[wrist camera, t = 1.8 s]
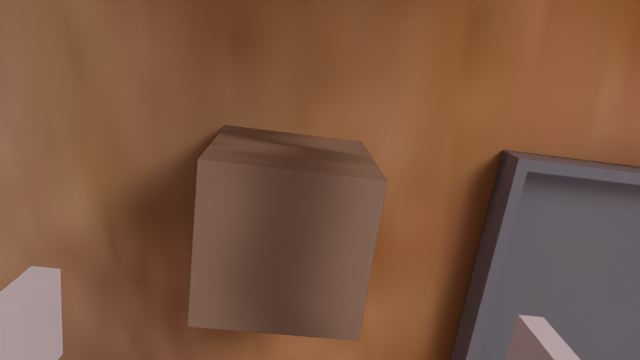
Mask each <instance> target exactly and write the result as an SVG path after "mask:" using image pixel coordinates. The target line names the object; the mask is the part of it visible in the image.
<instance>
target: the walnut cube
mask: <svg viewBox="0 0 640 360" xmlns="http://www.w3.org/2000/svg"><path fill="white" fill-rule="evenodd" d="M387 182H388V181H387V179H386V178H385V176H384V175H383V173H382V172H381V170H380V169H379V167H378V166H377V164H376V163H375V161H374V160H373V158H372V157H371V155H370V154H369V152H368V151H367V149H366V148H365V146H364V144H363V143H362V142H358V141H350V140H341V139H333V138H325V137H317V136H309V135H301V134H292V133H284V132H276V131H268V130H260V129H251V128H243V127H235V126H227V125H225V126H224V128H223V129H222V130H221V131H220V133H219V134H218V135H217V136H216V137H215V139H214V140H213V141H212V142H211V144H210V145H209V146H208V147H207V148H206V150H205V151H204V152H203V153H202V155H201V156H200V157H199V158H198V163H197V179H196V196H195V212H194V229H193V245H192V262H191V278H190V294H189V311H188V327H198V328H210V329H222V330H234V331H246V332H258V333H270V334H282V335H294V336H306V337H318V338H330V339H342V340H354V341H358V340H359V334H360V329H361V323H362V318H363V312H364V307H365V302H366V296H367V291H368V285H369V280H370V274H371V269H372V263H373V258H374V252H375V247H376V242H377V236H378V231H379V225H380V220H381V214H382V209H383V203H384V198H385V193H386V187H387Z"/></svg>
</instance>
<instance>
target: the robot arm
mask: <svg viewBox="0 0 640 360" xmlns="http://www.w3.org/2000/svg"><path fill="white" fill-rule="evenodd" d="M62 354H63V345H62V309H61V273H60V269H56V268H46V267H36V266H31V267H30V268H29V269H27V270H26V271H25V272H24V273H22V274H21V275H20V276H19V277H18V278H16V279H15V280H14V281H13V282H12V283H10V284H9V285H8V286H7V287H6V288H4V289H3V290H2V291H1V292H0V360H58V359H59V358H60V357H61V355H62ZM506 360H580V359H579V357H578V356H577V355H576V354H575V353H574V352H573V351H572V349H571V348H570V347H569V346H568V345H567V344H566V343H565V341H564V340H563V339H562V338H561V337H560V336H559V335H558V333H557V332H556V331H555V330H554V329H553V328H552V327H551V325H550V324H549V323H548V322H547V321H546V320H545V319H544V317H536V316H526V315H518V319H517V322H516V326H515V329H514V332H513V336H512V339H511V343H510V346H509V349H508V353H507V356H506Z"/></svg>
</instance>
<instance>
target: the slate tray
mask: <svg viewBox="0 0 640 360" xmlns="http://www.w3.org/2000/svg"><path fill="white" fill-rule="evenodd" d="M518 315H526V316H536V317H544V319H545V320H546V321H547V322H548V323H549V324H550V325H551V327H552V328H553V329H554V330H555V331H556V332H557V333H558V335H559V336H560V337H561V338H562V339H563V340H564V341H565V343H566V344H567V345H568V346H569V347H570V348H571V349H572V351H573V352H574V353H575V354H576V355H577V356H578V357H579V359H580V360H640V167H636V166H628V165H620V164H612V163H604V162H596V161H587V160H579V159H571V158H563V157H555V156H547V155H539V154H531V153H523V152H515V151H507V150H503V153H502V157H501V161H500V165H499V169H498V173H497V177H496V181H495V184H494V188H493V192H492V196H491V200H490V204H489V208H488V212H487V216H486V220H485V224H484V228H483V232H482V236H481V240H480V244H479V248H478V252H477V256H476V260H475V264H474V268H473V272H472V276H471V279H470V283H469V287H468V291H467V295H466V299H465V303H464V307H463V311H462V315H461V319H460V323H459V327H458V331H457V335H456V339H455V343H454V347H453V351H452V355H451V359H450V360H506V356H507V353H508V349H509V346H510V343H511V339H512V336H513V332H514V329H515V326H516V322H517V319H518Z"/></svg>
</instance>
